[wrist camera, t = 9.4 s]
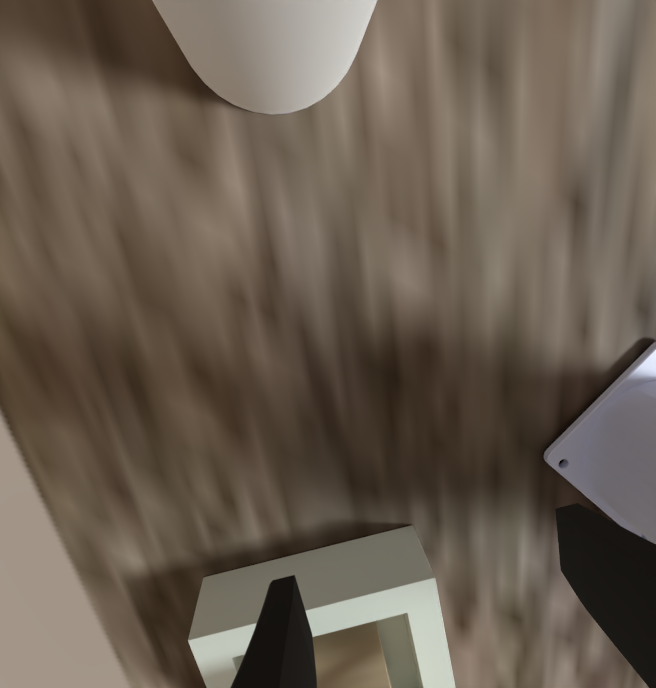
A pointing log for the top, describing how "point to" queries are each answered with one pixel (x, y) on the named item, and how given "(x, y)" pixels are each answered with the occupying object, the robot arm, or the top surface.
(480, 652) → the top surface
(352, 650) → the block
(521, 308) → the top surface
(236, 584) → the dish
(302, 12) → the cylindrical container
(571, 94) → the top surface
